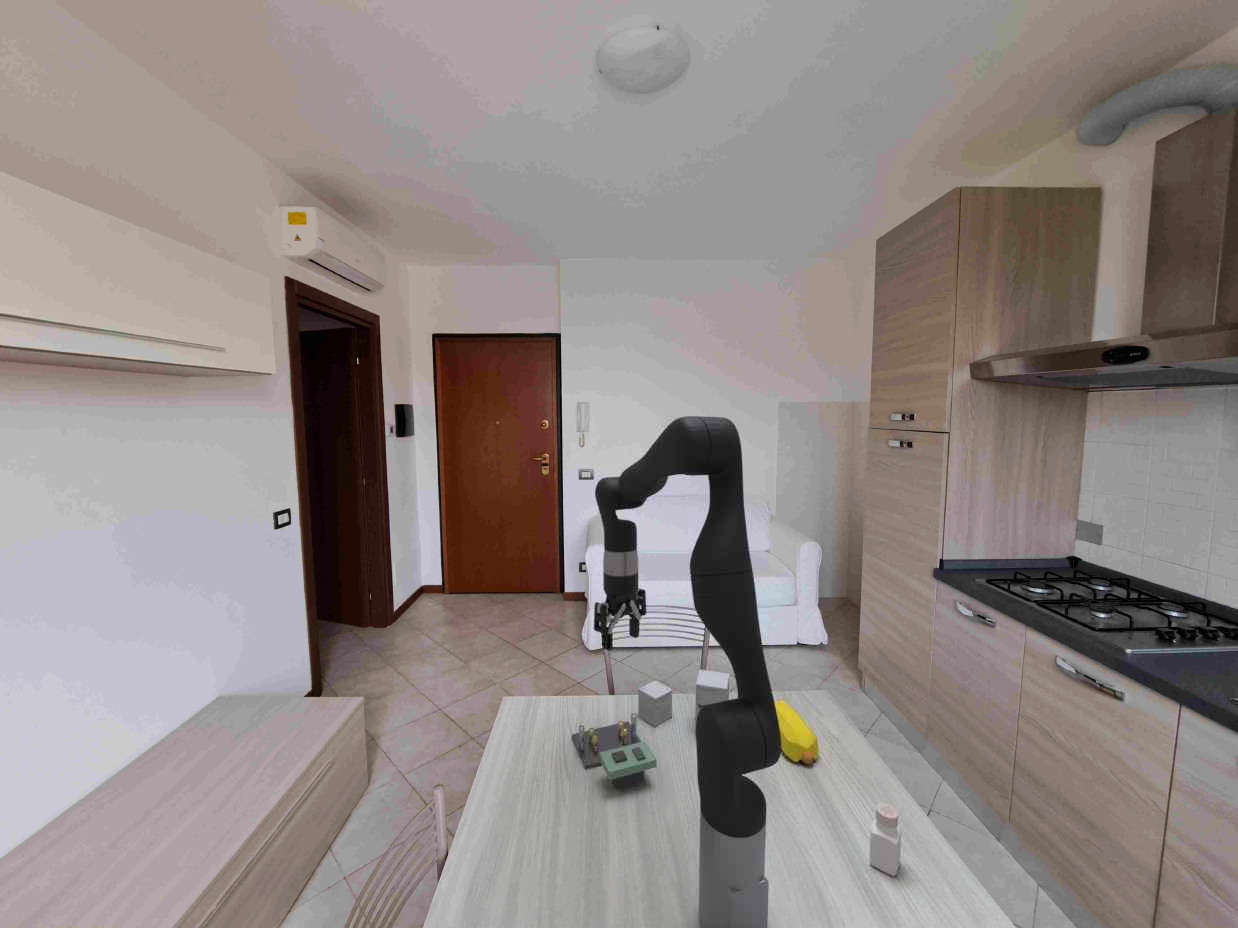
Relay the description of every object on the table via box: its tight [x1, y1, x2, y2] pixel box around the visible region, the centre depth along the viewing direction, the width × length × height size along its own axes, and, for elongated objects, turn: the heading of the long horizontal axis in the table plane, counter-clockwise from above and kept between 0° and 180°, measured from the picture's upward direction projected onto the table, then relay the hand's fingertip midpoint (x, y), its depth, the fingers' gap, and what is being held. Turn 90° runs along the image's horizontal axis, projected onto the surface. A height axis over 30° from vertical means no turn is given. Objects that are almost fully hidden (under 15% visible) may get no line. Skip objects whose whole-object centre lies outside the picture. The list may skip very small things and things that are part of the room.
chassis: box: [571, 713, 642, 770], centre depth 111 cm, size 14×11×6 cm
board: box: [600, 741, 658, 781], centre depth 99 cm, size 10×6×2 cm, turn 110°
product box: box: [637, 680, 673, 728], centre depth 121 cm, size 6×6×7 cm
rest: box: [611, 770, 645, 791], centre depth 100 cm, size 6×2×4 cm, turn 110°
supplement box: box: [694, 669, 731, 736], centre depth 116 cm, size 7×7×13 cm
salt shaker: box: [868, 802, 902, 877], centre depth 81 cm, size 4×4×10 cm
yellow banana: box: [774, 699, 820, 765], centre depth 112 cm, size 18×7×8 cm
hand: (621, 642), depth 107 cm, fingers open, 8 cm apart
